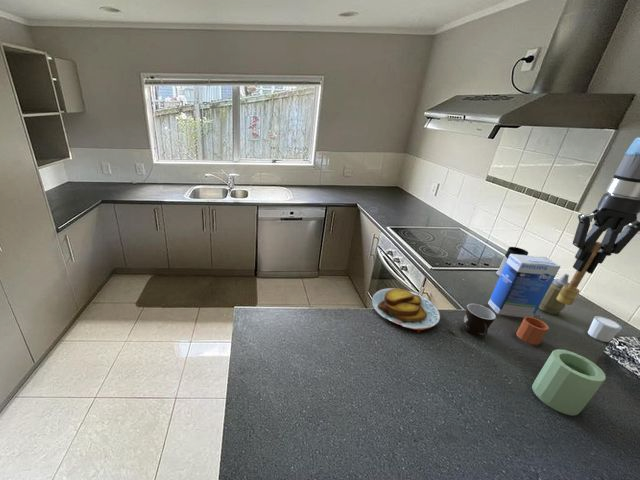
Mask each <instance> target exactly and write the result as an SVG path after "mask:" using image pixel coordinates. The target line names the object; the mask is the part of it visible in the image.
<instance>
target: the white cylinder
mask: <svg viewBox="0 0 640 480" xmlns="http://www.w3.org/2000/svg"><path fill="white" fill-rule="evenodd" d="M622 329H623V326H621V324H619V323H618V322H617V321H614V320H612V319H610V318H608V317H605V316H601V315H596V316H595V315H594V317H593V320H592V322H591V324H590V326H589V328H588V330H587V334H588V336H590V337H592V338H593V339H595V340H597V341H601V342H603V343H609V342H611V341H612V339H614V338H615V336H616V335H617V334H618V333H620V332H621V330H622Z"/></svg>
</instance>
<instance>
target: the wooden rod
mask: <svg viewBox="0 0 640 480" xmlns="http://www.w3.org/2000/svg"><path fill="white" fill-rule="evenodd" d="M601 246H602V243H601V241H596V242H595V244H594V245H593V247H592V248H591V249H590V252H592V254H591V256H590V258H589V259H588V261H587V263H586V264H585V266H584V268H583V270H582V271H581V272H579V271H577V270H576V271H575V272H574V274H573V276H572V278H571V280H570V282H568V283H569V285H564V286H563V287H562V289H561V291H560V293H559V294H558V296H557V298H556V299H557V300H558V301H559V302H561V303H564V304H566V305H568V306H571V305H573V303H574V302H575V300H576V299H577V297H578V295H579V293H580V292H581V290H580V289H579V288H578V287H579V285H580V283H581V282H582V280H583V278H584V277H585V275H586V274H587V270H588V268H589V266H590V265H591V263H592V261H593V260H594V258H595V256H596V254H597V253H598V251H599V249H600V248H601Z"/></svg>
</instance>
